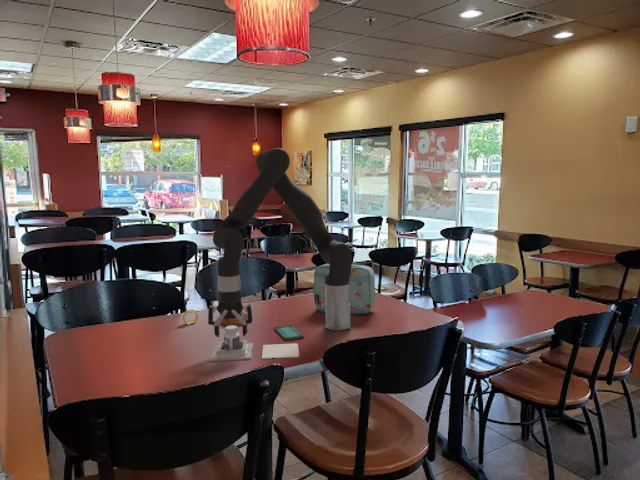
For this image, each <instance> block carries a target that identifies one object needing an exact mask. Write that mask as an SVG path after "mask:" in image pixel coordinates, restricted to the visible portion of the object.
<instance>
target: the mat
mask: <svg viewBox="0 0 640 480" xmlns="http://www.w3.org/2000/svg"><path fill="white" fill-rule="evenodd" d="M261 352H262V353H261V354H262V355H261V359H262V360H269V359H270V360H271V359H272V358H275V359H290V358H291V359H292V358H295V359H297V358H300V352H299V343H295V342H294V343H281V344H280V343H278V344H277V343H275V344H263V345H262V351H261ZM272 360H273V359H272Z"/></svg>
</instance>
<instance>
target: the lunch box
mask: <svg viewBox="0 0 640 480" xmlns="http://www.w3.org/2000/svg"><path fill="white" fill-rule="evenodd" d="M329 270H330V264H328V263H325V264H322V265H319V266H317V267H316V268H315V269H314V273H313V284H312V287H311V290H313V299H314V305H315V308H316V309H317V310H318V311H320V312H324V313H325V276H326V275H328V274H329ZM375 280H376V279H375V271H374V270H373V268H372V267H370V266H369V265H364V264H352V263H351V276H350V278H349V303H350V315H360V314H364V315H365V314H367V313H369V312H370V311H371V310H372V309H373V308H374V306H375V304H376V303H375V302H376V281H375Z"/></svg>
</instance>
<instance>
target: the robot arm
mask: <svg viewBox="0 0 640 480" xmlns="http://www.w3.org/2000/svg"><path fill="white" fill-rule="evenodd" d="M255 160H256V161H255V164H256V168H257V171H258V172H259V175H258V177H257V178H256V179H255V180H254V181H253V183H252V184H251V185H250V186H249V187H247V189H246V190H245V191H244V192H243V194H242V195H241V196H240V198H238V200H237V202H236V203H235V205H234V207H233V209H232V210H231V211H230V213H229V215H228V216H226V217H225V218H224V219H223V221H222V222H220V223H219V224H218V226H217V227H216V228H215V231H214V232H213V235H212V243H213V245H214V246H215V247H216V248H218V249H222V250H223V255H222V256H221V257H219V258H218V260H217V286H216V288H217V301H218V302H217V306H215V305H212V304H211V305H209V306H208V316H207V317H208V318H207V319H208V321H207V324H208V325H211V326H213V327H214V328H213V329H214V336H216V338H220V335H221V334H220V324H221V320H222V319H223V318H225V319H235V318H237V319H238V320H239V321H240V322H241V323H242V324H243V325H242V326H241V327H242V337H245V336H246V335H247V334H248V325H249V324H252V323H253V312H252V311H253V310H252V305H251V303H248V304H246V305H243V303H242V281H241V275H240V274H241V270H240V269H241V268H240V260H241V256H242V251H243V246H244V239H243V238H244V237H243V235H242V233H241V231H240V230H241V229H243V228H246V227H248V226H249V224H250V223H251V221H252V220H253V218H254V216H255V215H256V214H257V213H256V212H258V209H259V208H260V206H261V205H262V204H263V201H264V200H265V199H266V197H267V196H268V194H269V193H270V191H271V190H272V189H273V190H274V191H275V192H276V193H277V195H278V196H279V198H280V199H281V201H282V202H283V203H284V204H285V206H286V207H287V208H288V210H289V212H290V213H291V215H292V216H293V217H294V219H295V220H296V222H297V223H298V224H299V226H300V227H301V228H302V230H303V231H304V233H305V234H306V235H307V236H308V237H309V238H310V240H311V241H312V243H313V245H314V247H315V248H316V250H317V252H318V254H319V256H320V257H321V259H322V260H323V261H324V262H325V264H330V270H329V274H328V275H326V276H325V312H324V314H325V315H324V316H325V318H324V319H325V328H326V329H327V330H331V331H344V330H348V329H349V330H350V329H351V314H350V303H349V278H350V276H351V264H352V250H351V248H350V246H349V245H348V244H346V243H344V242H342V241H337V240H336V239H335V238H334V237H333V236H332V235H331V234H330V232H329V231H328V229H327V227H326V225H325V223H324V219H323V214H322V212H321V210H320V208H319V206H318V205H317V204H316V202H315V201H314V199H313V198H312V197H311V195H310V194H309V193H308V192H306V191H305V190H304V189H302V188H301V187H300V186H299V185H298V184H296V183H295V182H293V180H292V179H291V178H290V177H289V176H288V174H287V173H286V172H287V170H288V169H289V167H290V164H291V163H290V156H289V154H288V152H287V150H285V149H283V148H280V147H274V148H271V149H270V148H269V149H267V150H265V151H261V152H260V153H258V155H257V156H256V159H255ZM216 310H217V312H218V313H219V315H218V317H217V318H216V320H214V313H215V312H216ZM243 310H244V311H245V312H246V314H247V315H248V319H247V320H246V319H245V318H244V317H243V315H242V314H241V311H242V312H243ZM239 314H240V315H239Z"/></svg>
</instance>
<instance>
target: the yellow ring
mask: <svg viewBox="0 0 640 480" xmlns="http://www.w3.org/2000/svg"><path fill="white" fill-rule="evenodd" d="M191 312H194V313H195V318H194V320H193V321H190V322H187V321H186V317H185V316H187V315H186V314H187V313H191ZM198 318H199V314H198V312H197V311H196V310H194V308H190V307H189V308H187V309H186V310H185V311H184V312H183V314H182V321H183V323H184V324H187V325H191V324H195V323H196V322H197V321H198Z"/></svg>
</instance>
